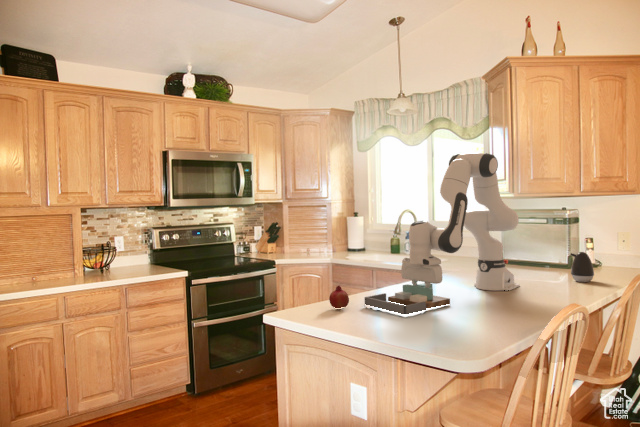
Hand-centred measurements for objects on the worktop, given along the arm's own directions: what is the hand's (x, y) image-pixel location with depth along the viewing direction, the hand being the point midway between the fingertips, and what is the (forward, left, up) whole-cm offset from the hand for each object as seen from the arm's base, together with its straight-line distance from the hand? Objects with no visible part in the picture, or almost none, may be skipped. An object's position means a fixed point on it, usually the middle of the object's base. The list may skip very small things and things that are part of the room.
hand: (421, 291), depth 188 cm
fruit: (+32, -16, -6) cm, 36 cm away
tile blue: (+6, -4, -2) cm, 8 cm away
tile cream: (+6, +4, -2) cm, 8 cm away
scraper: (-1, 0, -2) cm, 2 cm away
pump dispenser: (-97, +21, -6) cm, 100 cm away
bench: (+2, 0, -5) cm, 6 cm away
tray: (+16, 0, -5) cm, 17 cm away
